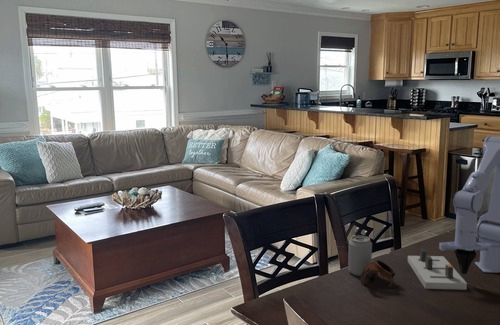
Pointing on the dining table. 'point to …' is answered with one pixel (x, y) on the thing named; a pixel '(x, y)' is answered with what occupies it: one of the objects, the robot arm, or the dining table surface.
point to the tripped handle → (449, 271)
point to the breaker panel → (435, 272)
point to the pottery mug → (376, 273)
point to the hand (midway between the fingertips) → (463, 272)
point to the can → (359, 254)
